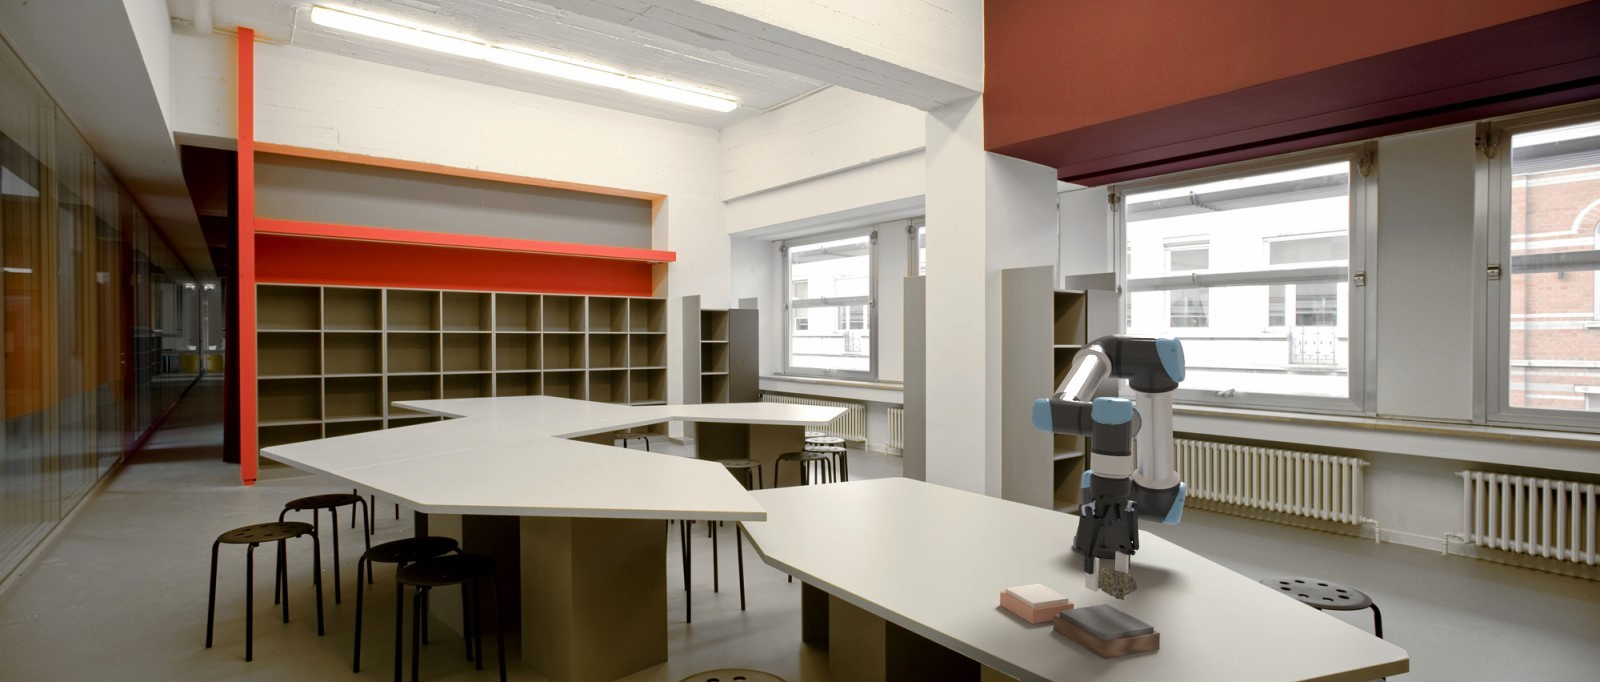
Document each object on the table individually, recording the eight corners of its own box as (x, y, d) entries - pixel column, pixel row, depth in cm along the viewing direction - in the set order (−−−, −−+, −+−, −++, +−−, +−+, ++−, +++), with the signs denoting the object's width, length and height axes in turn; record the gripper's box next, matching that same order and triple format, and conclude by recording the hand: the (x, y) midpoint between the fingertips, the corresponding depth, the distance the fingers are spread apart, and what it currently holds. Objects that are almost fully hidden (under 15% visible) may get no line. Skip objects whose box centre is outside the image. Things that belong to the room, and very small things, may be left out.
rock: (1085, 591, 142) (1086, 568, 142) (1102, 582, 148) (1102, 560, 147) (1122, 601, 137) (1123, 578, 137) (1137, 591, 142) (1138, 569, 142)
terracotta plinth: (1039, 599, 165) (1039, 581, 165) (1073, 617, 155) (1074, 599, 155) (1000, 604, 161) (1000, 587, 161) (1032, 624, 151) (1033, 605, 151)
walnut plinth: (1105, 620, 154) (1105, 602, 153) (1159, 648, 140) (1160, 628, 140) (1053, 629, 148) (1054, 610, 148) (1104, 658, 135) (1105, 637, 135)
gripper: (1132, 468, 151) (1129, 575, 151) (1057, 473, 144) (1054, 585, 144) (1162, 475, 144) (1158, 588, 144) (1085, 480, 137) (1081, 599, 137)
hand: (1106, 586), depth 144 cm, fingers closed on rock, 7 cm apart
